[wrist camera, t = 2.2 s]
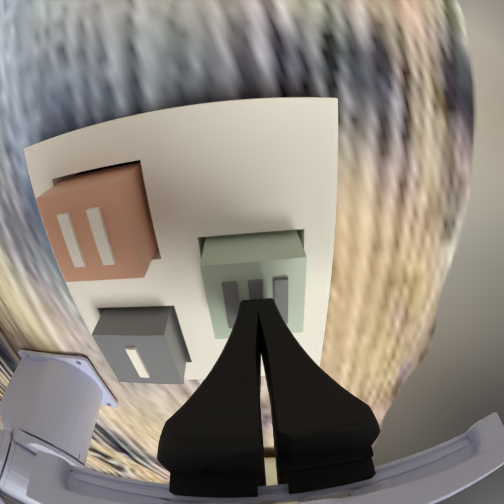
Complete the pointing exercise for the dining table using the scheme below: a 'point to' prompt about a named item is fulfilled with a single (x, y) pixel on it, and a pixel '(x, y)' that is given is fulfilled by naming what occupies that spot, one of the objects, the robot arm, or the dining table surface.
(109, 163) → the key panel
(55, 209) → the key two
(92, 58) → the dining table surface
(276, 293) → the key three
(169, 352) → the key one
